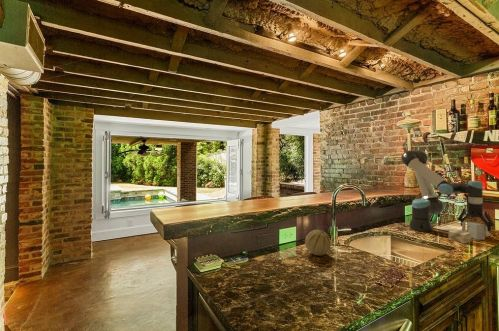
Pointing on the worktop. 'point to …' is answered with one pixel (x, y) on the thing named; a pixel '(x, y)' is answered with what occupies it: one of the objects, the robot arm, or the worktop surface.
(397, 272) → the chocolate bar
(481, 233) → the small box
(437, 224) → the worktop surface
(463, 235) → the pedestal block
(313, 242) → the cantaloupe
